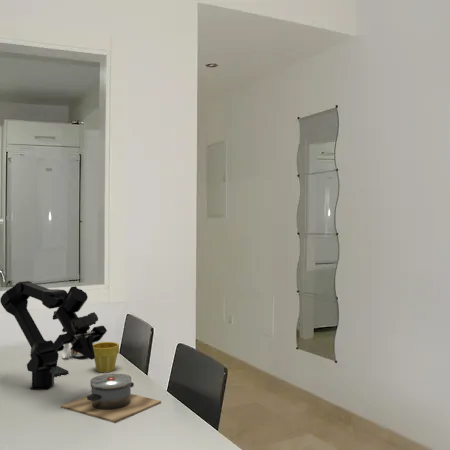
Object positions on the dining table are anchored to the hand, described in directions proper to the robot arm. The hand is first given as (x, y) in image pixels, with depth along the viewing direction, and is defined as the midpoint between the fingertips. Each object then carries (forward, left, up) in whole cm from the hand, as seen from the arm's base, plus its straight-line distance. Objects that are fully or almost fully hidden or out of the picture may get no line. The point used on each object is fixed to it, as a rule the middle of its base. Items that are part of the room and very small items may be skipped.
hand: (93, 358), depth 177 cm
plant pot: (-4, +36, -14) cm, 38 cm away
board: (+6, -4, -14) cm, 16 cm away
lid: (+6, -5, -7) cm, 10 cm away
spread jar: (-20, +56, -14) cm, 60 cm away
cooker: (+6, -4, -14) cm, 16 cm away
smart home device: (-26, +36, -14) cm, 46 cm away
